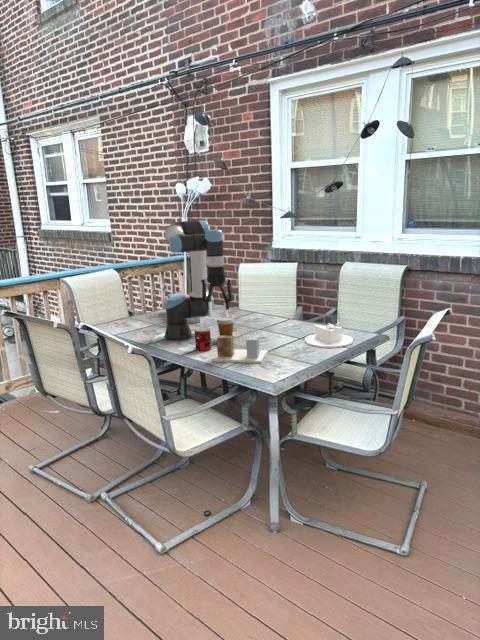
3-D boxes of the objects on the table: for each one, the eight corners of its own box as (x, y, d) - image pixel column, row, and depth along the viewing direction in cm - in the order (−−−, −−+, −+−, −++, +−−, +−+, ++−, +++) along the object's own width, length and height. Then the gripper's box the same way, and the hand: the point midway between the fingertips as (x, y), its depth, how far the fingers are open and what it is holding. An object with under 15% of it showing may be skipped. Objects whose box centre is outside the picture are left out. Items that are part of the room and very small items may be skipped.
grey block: (247, 358, 219) (246, 339, 217) (249, 354, 224) (248, 336, 221) (257, 358, 218) (256, 340, 215) (259, 355, 222) (258, 337, 220)
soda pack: (168, 312, 327) (166, 293, 323) (186, 310, 331) (184, 291, 327) (181, 325, 289) (179, 304, 286) (201, 323, 294) (199, 301, 290)
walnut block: (217, 357, 221) (216, 337, 219) (220, 355, 225) (219, 335, 222) (231, 358, 219) (230, 338, 217) (234, 355, 223) (233, 335, 221)
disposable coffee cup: (237, 337, 256) (236, 316, 254) (231, 342, 248) (230, 321, 245) (221, 337, 260) (220, 316, 257) (215, 341, 251) (213, 320, 248)
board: (211, 360, 220) (211, 358, 220) (221, 350, 235) (221, 348, 235) (261, 363, 214) (260, 361, 214) (267, 352, 229) (267, 350, 229)
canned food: (195, 347, 242) (194, 327, 239) (211, 346, 243) (209, 326, 240) (195, 352, 235) (194, 331, 232) (211, 351, 235) (210, 330, 233)
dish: (362, 340, 243) (362, 319, 240) (334, 351, 226) (334, 329, 224) (323, 332, 260) (323, 313, 258) (295, 343, 244) (295, 322, 241)
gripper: (191, 266, 203) (195, 318, 208) (234, 266, 198) (237, 318, 203) (197, 264, 210) (201, 314, 215) (239, 264, 205) (241, 314, 210)
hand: (218, 316), depth 209 cm, fingers open, 6 cm apart
